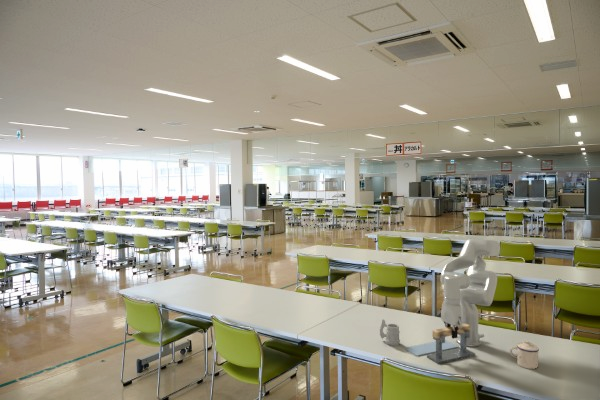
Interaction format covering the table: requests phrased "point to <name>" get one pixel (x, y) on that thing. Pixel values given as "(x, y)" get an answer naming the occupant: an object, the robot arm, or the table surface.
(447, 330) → the oak rail
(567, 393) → the table surface
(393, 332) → the mug
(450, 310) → the robot arm
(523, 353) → the teacup with lid
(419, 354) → the slate mat
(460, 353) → the stand
